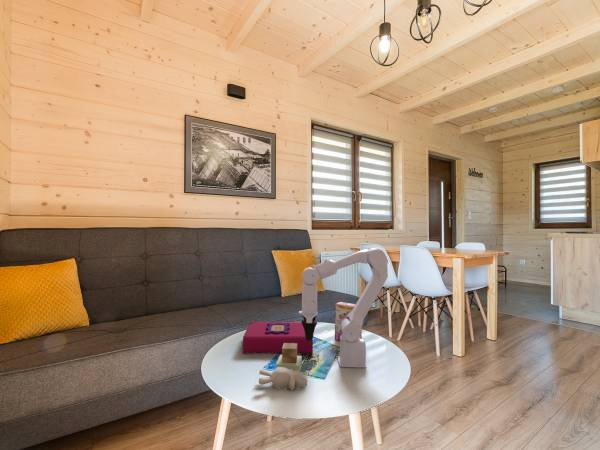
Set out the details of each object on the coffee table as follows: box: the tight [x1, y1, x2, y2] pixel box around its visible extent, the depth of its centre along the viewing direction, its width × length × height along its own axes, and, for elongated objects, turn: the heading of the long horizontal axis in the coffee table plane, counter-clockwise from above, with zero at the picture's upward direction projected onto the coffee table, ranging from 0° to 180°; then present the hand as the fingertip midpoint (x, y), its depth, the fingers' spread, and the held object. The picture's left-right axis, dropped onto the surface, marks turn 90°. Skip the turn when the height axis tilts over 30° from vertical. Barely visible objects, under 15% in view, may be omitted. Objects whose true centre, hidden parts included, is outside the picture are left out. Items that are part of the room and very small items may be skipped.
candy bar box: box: [334, 301, 363, 342], centre depth 137 cm, size 11×5×16 cm, turn 58°
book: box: [242, 320, 314, 354], centre depth 133 cm, size 21×28×8 cm
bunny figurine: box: [258, 367, 308, 391], centre depth 99 cm, size 10×5×15 cm
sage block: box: [275, 354, 303, 371], centre depth 110 cm, size 8×8×4 cm
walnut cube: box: [281, 343, 298, 363], centre depth 110 cm, size 5×5×5 cm
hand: (309, 336), depth 116 cm, fingers open, 7 cm apart
